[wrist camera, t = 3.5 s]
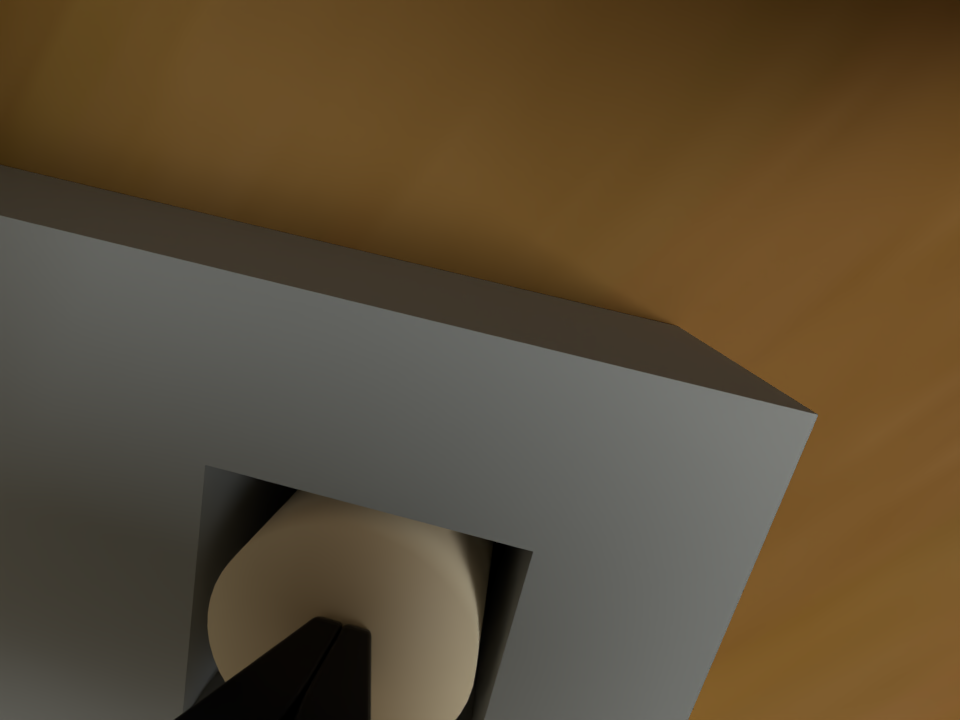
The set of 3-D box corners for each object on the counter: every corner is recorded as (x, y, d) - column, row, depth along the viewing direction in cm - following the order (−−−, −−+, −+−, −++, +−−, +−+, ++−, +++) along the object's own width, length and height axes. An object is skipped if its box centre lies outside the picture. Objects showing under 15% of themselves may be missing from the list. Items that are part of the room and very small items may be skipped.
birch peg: (520, 414, 12) (505, 569, 7) (484, 551, 13) (444, 788, 8) (364, 375, 13) (219, 492, 7) (341, 513, 14) (197, 716, 8)
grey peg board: (677, 326, 12) (817, 414, 6) (564, 667, 14) (583, 964, 8) (-184, 121, 13) (-785, 23, 7) (-146, 471, 15) (-563, 614, 9)
